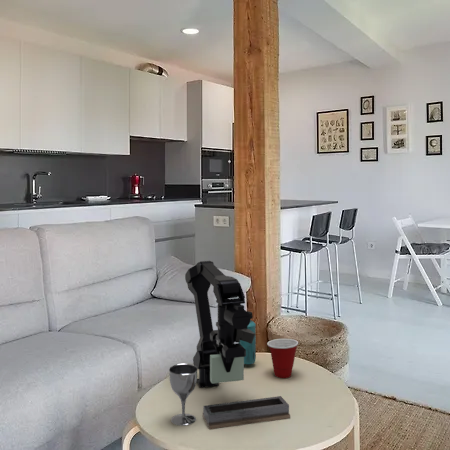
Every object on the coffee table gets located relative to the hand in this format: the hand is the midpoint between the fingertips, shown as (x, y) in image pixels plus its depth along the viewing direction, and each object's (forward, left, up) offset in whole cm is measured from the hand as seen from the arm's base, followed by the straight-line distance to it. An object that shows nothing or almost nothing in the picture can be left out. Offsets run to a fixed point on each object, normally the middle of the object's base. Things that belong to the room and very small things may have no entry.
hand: (226, 370), depth 154 cm
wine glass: (+6, -15, -11) cm, 19 cm away
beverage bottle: (-28, +16, -11) cm, 34 cm away
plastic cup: (-16, +25, -11) cm, 32 cm away
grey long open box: (+10, +3, -11) cm, 15 cm away
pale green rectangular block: (0, 0, -3) cm, 3 cm away
